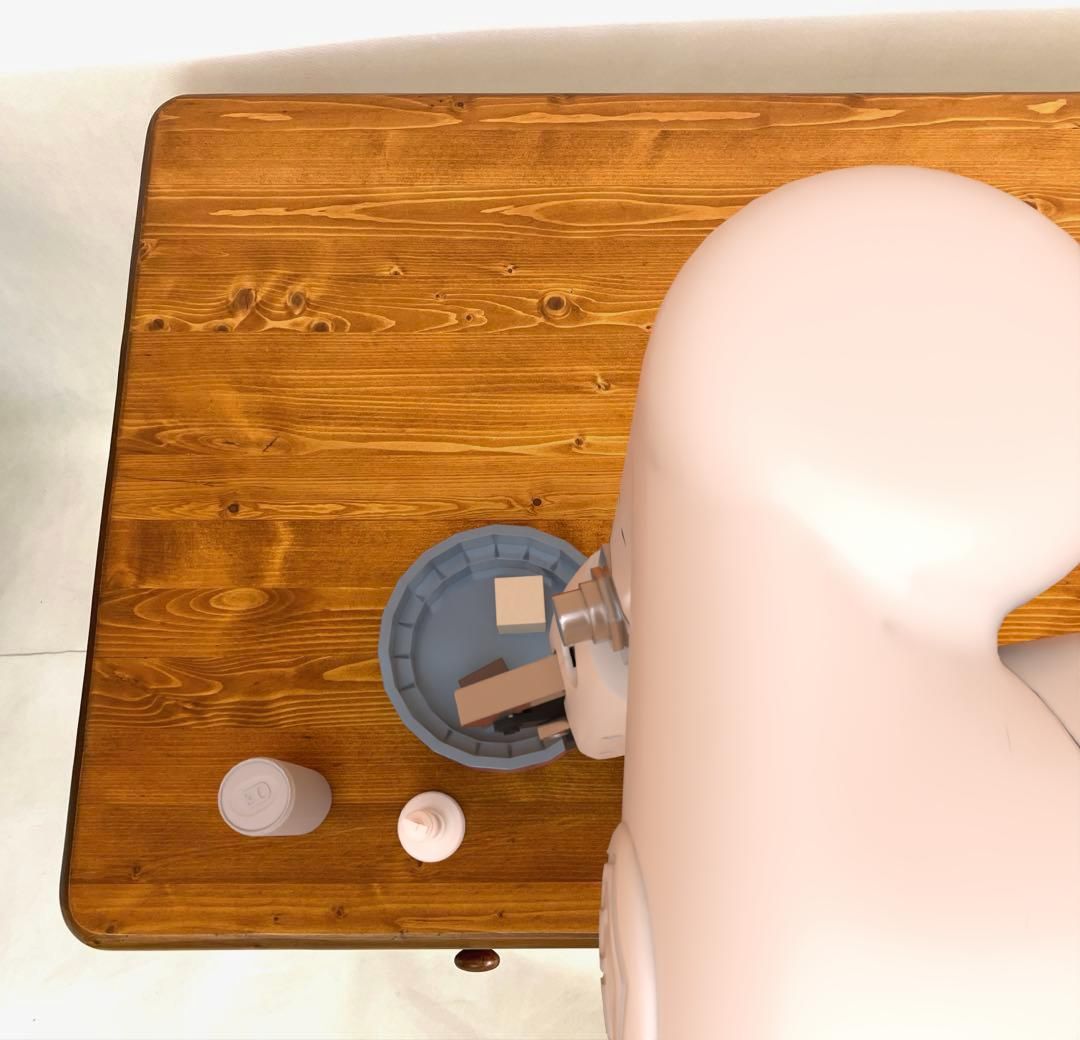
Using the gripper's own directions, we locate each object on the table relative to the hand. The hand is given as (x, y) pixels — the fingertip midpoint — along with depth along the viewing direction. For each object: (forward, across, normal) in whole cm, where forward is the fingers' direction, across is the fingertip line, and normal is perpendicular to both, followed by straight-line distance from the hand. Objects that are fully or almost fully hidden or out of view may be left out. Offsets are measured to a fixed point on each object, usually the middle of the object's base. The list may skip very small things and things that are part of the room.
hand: (673, 682), depth 41 cm
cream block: (+32, -4, +12) cm, 35 cm away
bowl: (+33, -6, +10) cm, 35 cm away
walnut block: (+32, -8, +6) cm, 34 cm away
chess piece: (+34, -15, -1) cm, 37 cm away
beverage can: (+33, -24, +3) cm, 41 cm away
